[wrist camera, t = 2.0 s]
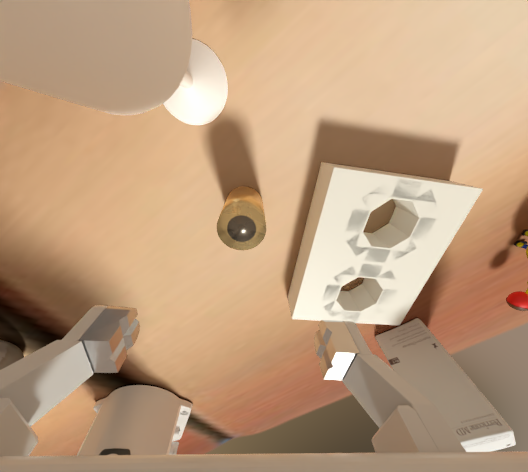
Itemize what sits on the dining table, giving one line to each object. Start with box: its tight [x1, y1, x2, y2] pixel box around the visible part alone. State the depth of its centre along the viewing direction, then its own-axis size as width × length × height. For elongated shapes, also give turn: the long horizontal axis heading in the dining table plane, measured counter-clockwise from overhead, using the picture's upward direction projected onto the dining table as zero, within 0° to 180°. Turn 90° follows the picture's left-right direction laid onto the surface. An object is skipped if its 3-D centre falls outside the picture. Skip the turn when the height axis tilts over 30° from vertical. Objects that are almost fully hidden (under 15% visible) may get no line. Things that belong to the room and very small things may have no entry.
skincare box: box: [375, 318, 516, 452], centre depth 30 cm, size 8×6×15 cm
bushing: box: [217, 186, 266, 250], centre depth 22 cm, size 4×4×7 cm
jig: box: [288, 162, 483, 326], centre depth 26 cm, size 20×16×4 cm
